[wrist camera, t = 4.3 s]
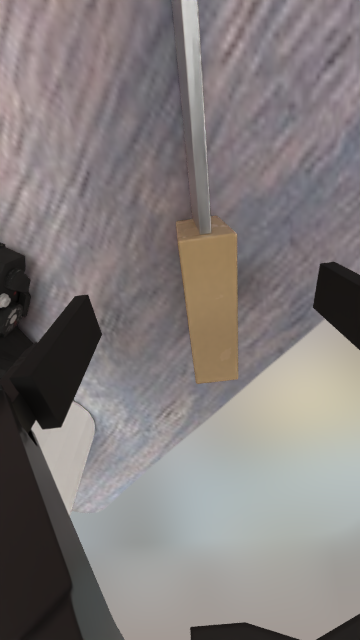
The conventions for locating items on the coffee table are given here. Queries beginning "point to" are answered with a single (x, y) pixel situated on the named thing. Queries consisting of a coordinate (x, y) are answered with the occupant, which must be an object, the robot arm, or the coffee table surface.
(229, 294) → the knife
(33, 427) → the mug
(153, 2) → the coffee table surface
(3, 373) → the film camera
